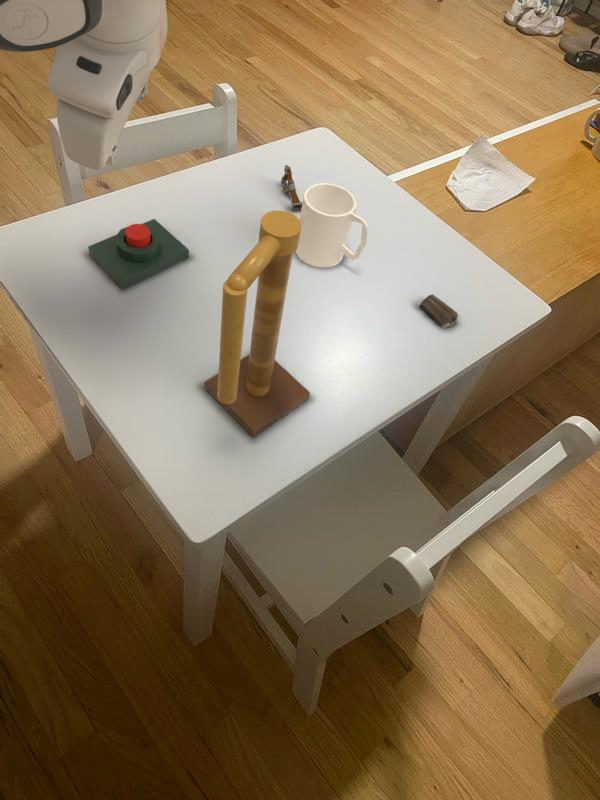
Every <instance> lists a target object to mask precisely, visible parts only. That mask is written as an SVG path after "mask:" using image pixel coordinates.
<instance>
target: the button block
mask: <svg viewBox="0 0 600 800" xmlns="http://www.w3.org/2000/svg"><path fill="white" fill-rule="evenodd" d="M141 224H142V225H145V226H147V227H148V228H149V230H150V238H151V242H150V244H149V245H148V246H147V247H144V248H133V247H130V246H129V245H128V244H127V242H126V236H125V230H126V228H127V227H128V226H126V227H123V228H121V229H120V230H119V231H118V232H117V234H115V235H112V236H110V237H108V238H105V239H102V240H101V241H98V242H96V243H93V244H90V245H88V246H87V248H88V255H89V256H90V257H91V258H92V260H94V261H95V262H96V263H97V264H98V265H99V266H100V267H101V268H102V269H103V271H105V272H106V274H108V275H109V276H110V277H111V278H112V279H113V280H114V281H115V282H116V283H117V284H118V285H119V286H120V287H121V288H122V290H125V289H127V288H129V287H132V286H134V285H135V284H137V283H140V282H142V281H144V280H146V279H148V278H150V277H152V276H154V275H156V274H158V273H161V272H163V271H165V270H167V269H169V268H171V267H173V266H176V265H177V264H180V263H181V262H184V261H187V260H188V259H189V258H190V249H189V248H188V247H186V245H184V244H183V243H182V242H181V241H180V240H179V239H177V238H176V236H174V235H173V234H172V233H171V232H169V230H167V229H166V228H165V227H164V226H163V225H162V224H161V223H160V222H158V221H157V220H156V219H155V218H153V219H150V220H148V221H145V222H143V223H141Z"/></svg>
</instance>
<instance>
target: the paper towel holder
mask: <svg viewBox="0 0 600 800" xmlns="http://www.w3.org/2000/svg"><path fill="white" fill-rule="evenodd" d="M293 254H294V253H292V254H290V255H286V256H276V255H275V256H274V257H273V259H272V260H271V261H270V262H269V263H268V265H267V266H266V267H265V268H264V270H263V271H262V272H261V273H260V275H259V276H258V277H257V287H256V295H255V304H254V312H253V314H254V315H253V321H252V330H251V338H250V347H249V348H250V349H249V354H248V355H246V356H244V357H243V358H241V360H240V370H239V381H238V391H237V399H236V401H235V402H233V403H232V404H223V403H221V402H220V401H219V400H218V397H217V393H218V374H219V372H218V373H217V374H215V375H213V376H212V377H210V378H208V379H206V380H205V381H204V389H205V391H206V392H207V393H208V394H209V395H210V396H211V397H212V398H213V399H214V400H215V401H216V402H217V403H218V404H219V405H220V406H221V407H222V408H223V409H224V410H225V411H226V412H227V413H228V414H229V415H230V416H231V417H232V418H233V419H234V420H235V421H236V422H237V423H238V424H239V425H240V426H241V427H242V428H243V429H244V431H246V432H247V433H248V434H249V435H250V436H251V437H252V438H253V439H254V438H255V437H256V436H258V435H260V434H261V433H262V432H264V431H265V430H267V429H268V428H270V427H271V426H273V425H274V424H276V423H277V422H278V421H279V420H281V419H282V418H284V417H285V416H287V415H288V414H289V413H291V412H292V411H294V410H295V409H296V408H298V407H299V406H301V405H302V404H303V403H305V402H307V401H308V400H309V399H310V395H311V392H310V391H309V390H308V389H307V388H306V387H305V386H304V385H303V384H301V383H300V381H298V379H296V378H295V377H294V376H293V375H292V374H290V372H289V371H287V370H286V368H284V367H283V366H282V365H281V364H280V363H279V362H277V360H276V354H277V350H278V349H277V348H278V343H279V338H280V332H281V325H282V320H283V314H284V307H285V302H286V297H287V290H288V284H289V277H290V274H291V268H292V267H291V266H292V260H293Z"/></svg>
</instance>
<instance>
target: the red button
mask: <svg viewBox="0 0 600 800" xmlns="http://www.w3.org/2000/svg"><path fill="white" fill-rule="evenodd" d="M142 224H143V223H133V224H130V225H128V226H126V227H127V228H126V230H125V236H126V242H127V244H128V245H129V246H130V247H133V248H144V247H147V246H148V245H149V244H150V242H151V238H150V230H149V228H148V227H147V226H145V225H142Z"/></svg>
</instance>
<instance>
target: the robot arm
mask: <svg viewBox="0 0 600 800" xmlns="http://www.w3.org/2000/svg"><path fill="white" fill-rule="evenodd" d="M167 8H168V7H167V0H0V50H1V51H4V52H5V51H6V52H13V53H29V52H37V51H42V50H43V51H44V50H49V49H53V48H55V51H54V54H53V58H52V60H51V64H50V67H49V69H48V73H47V76H46V85H47V86H46V87H47V90H48V92H49V95H51V96H53V97H54V98H57V101H56V111H55V112H56V120H57V121H56V122H57V126H58V129H59V130H58V131H59V135H60V138H61V142H62V147H63V150H64V152H65V155H66V156H67V158H68V159H69V160H71V161H72V162H74V163H76V164H78V165H81V166H83V167H85V168H88V169H91V170H95V171H101V170H103V169H104V168H105V166H106V164H107V165H109V166H112V165H113V164H114V163H115V159H116V158H117V156H118V149H117V146H116V144H117V142H118V140H119V138H120V136H121V133H122V132H123V130H124V127H125V126H126V123H127V122H128V120H129V118H130V115H131V113H132V112H133V109H134V108H135V106H136V103H140V104H142V103H144V101H145V99H146V97H147V95H148V94H149V93H148V84H149V80H150V76H151V73H152V71H153V70H154V69H155V67H156V66H157V64H158V63H159V61H160V58H161V55H162V51H163V49H164V47H165V45H166V41H167V38H168V30H169V27H168V24H169V23H168V9H167Z"/></svg>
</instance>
